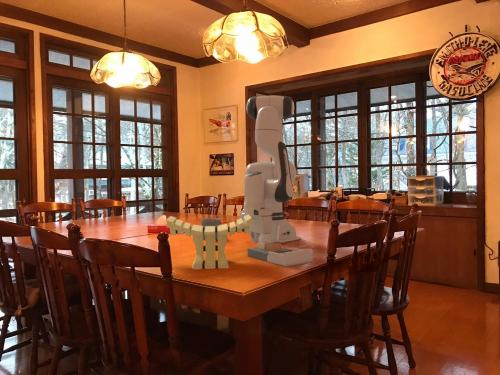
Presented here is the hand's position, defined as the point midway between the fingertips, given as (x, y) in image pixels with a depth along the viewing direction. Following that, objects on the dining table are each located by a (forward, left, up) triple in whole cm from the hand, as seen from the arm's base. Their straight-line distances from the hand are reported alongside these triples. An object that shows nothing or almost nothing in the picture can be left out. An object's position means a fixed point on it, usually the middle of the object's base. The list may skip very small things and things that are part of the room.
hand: (254, 242), depth 173 cm
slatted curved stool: (+25, +8, -4) cm, 27 cm away
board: (0, +11, -4) cm, 12 cm away
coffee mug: (-4, -45, -4) cm, 46 cm away
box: (0, +23, -4) cm, 24 cm away
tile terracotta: (0, +13, -1) cm, 13 cm away
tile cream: (0, +8, -1) cm, 8 cm away
